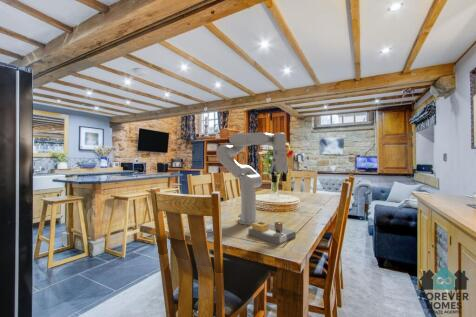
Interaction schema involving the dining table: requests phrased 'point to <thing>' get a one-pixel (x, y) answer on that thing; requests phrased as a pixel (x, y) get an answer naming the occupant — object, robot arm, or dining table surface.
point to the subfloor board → (273, 234)
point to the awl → (278, 228)
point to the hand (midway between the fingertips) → (279, 181)
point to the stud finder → (260, 226)
